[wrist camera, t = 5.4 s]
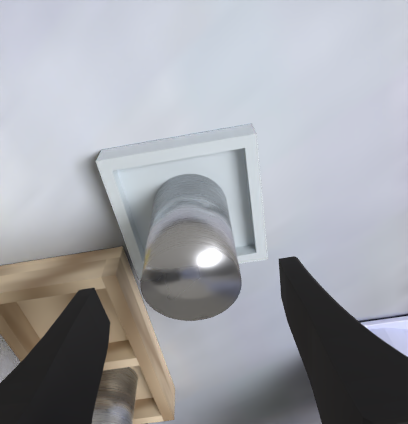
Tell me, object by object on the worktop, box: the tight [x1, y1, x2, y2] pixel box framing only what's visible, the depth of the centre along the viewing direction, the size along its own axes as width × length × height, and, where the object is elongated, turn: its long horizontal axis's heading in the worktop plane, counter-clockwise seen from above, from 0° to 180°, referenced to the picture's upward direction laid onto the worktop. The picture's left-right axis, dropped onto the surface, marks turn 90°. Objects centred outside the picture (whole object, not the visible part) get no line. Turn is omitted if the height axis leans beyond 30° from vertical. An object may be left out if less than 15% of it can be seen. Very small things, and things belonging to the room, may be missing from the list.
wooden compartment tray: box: [0, 246, 175, 424], centre depth 24 cm, size 8×15×2 cm, turn 9°
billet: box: [141, 174, 241, 321], centre depth 17 cm, size 4×4×6 cm
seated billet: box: [92, 367, 138, 424], centre depth 24 cm, size 4×4×6 cm
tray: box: [96, 124, 268, 279], centre depth 19 cm, size 8×8×1 cm
